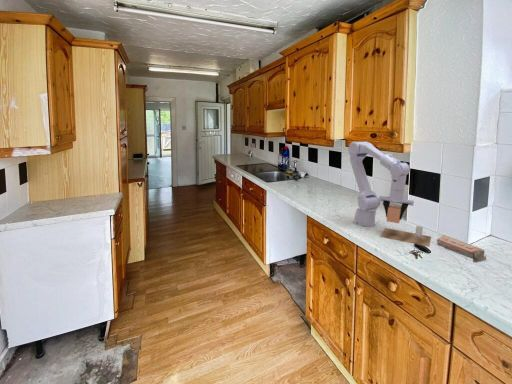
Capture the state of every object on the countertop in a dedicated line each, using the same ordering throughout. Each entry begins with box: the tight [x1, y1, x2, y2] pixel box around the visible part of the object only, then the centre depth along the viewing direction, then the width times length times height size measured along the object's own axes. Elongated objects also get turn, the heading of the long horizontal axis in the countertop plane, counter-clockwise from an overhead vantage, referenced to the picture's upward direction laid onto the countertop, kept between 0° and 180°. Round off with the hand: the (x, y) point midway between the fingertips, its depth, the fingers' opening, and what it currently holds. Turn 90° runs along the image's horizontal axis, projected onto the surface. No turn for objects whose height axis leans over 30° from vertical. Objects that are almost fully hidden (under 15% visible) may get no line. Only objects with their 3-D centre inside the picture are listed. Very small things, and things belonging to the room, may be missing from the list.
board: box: [379, 227, 432, 248], centre depth 140 cm, size 20×14×1 cm
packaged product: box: [436, 235, 487, 263], centre depth 127 cm, size 18×5×10 cm
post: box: [414, 225, 424, 240], centre depth 137 cm, size 3×3×6 cm
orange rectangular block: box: [386, 204, 401, 224], centre depth 141 cm, size 5×5×7 cm
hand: (393, 217), depth 142 cm, fingers closed on orange rectangular block, 5 cm apart
